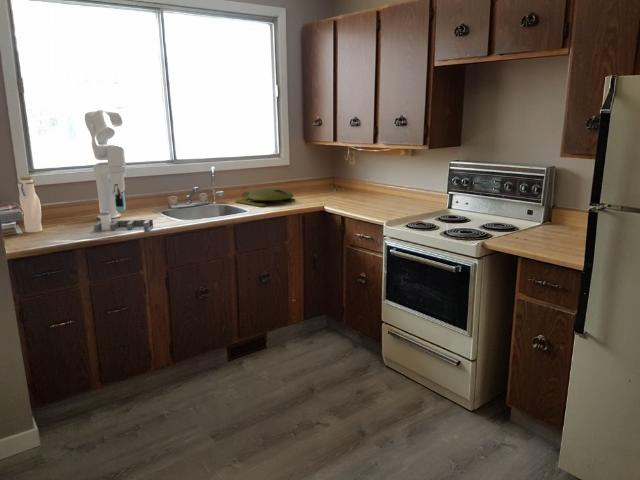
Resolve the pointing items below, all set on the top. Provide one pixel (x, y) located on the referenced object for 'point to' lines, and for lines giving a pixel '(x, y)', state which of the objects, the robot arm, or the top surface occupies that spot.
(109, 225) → the white plug
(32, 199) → the water bottle
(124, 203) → the teal plug
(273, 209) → the top surface
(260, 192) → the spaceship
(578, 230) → the top surface
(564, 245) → the top surface
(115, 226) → the comb rack
